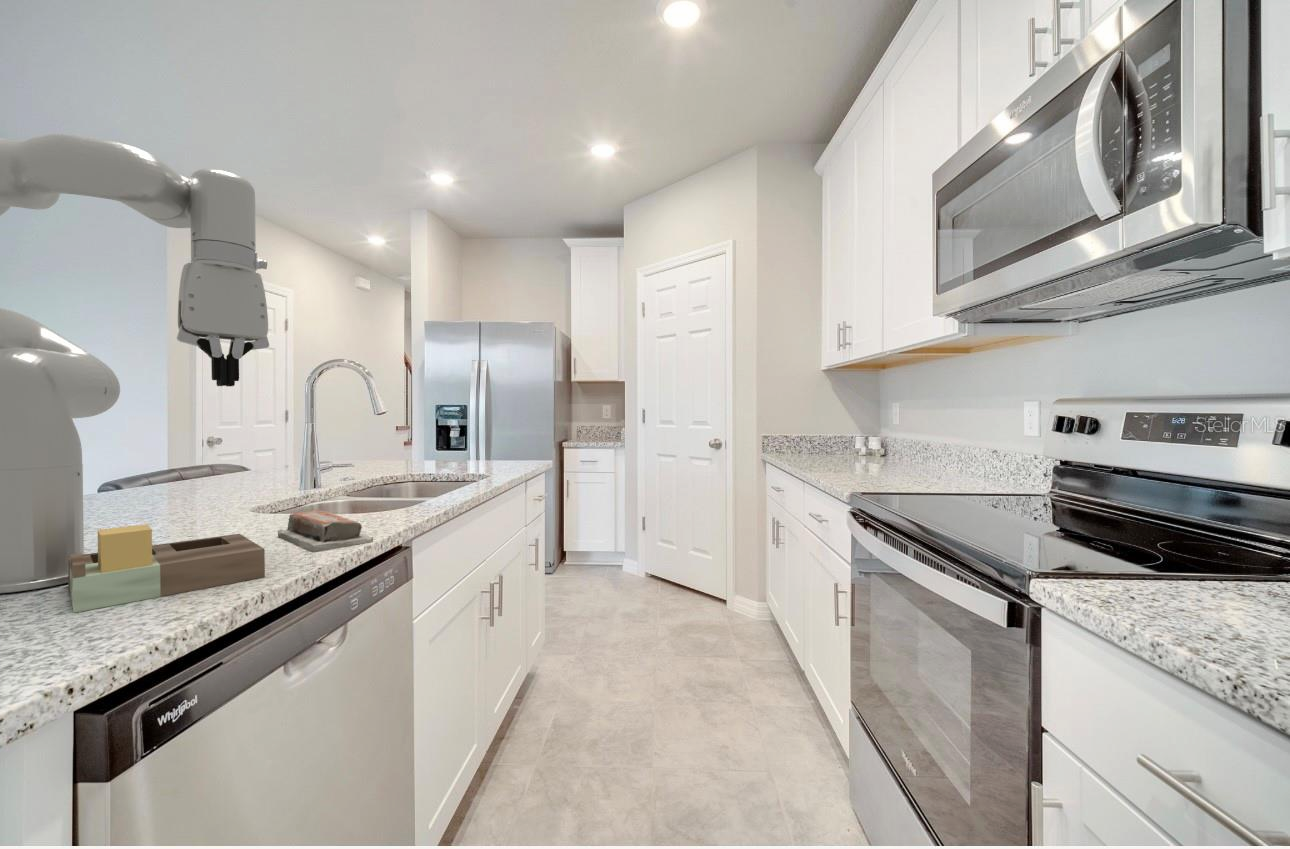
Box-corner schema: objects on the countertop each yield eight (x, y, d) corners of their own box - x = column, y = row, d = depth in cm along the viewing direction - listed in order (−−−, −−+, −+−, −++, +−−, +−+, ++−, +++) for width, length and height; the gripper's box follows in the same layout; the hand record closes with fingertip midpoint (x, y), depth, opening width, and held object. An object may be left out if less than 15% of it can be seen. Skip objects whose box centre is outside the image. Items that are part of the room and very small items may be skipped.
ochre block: (98, 565, 67) (97, 529, 67) (147, 558, 70) (146, 524, 70) (101, 572, 64) (100, 535, 64) (152, 565, 68) (151, 529, 67)
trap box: (68, 586, 71) (67, 545, 71) (239, 558, 85) (239, 524, 85) (73, 612, 62) (72, 565, 62) (264, 576, 76) (264, 538, 76)
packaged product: (275, 513, 101) (333, 506, 108) (275, 538, 101) (333, 530, 108) (312, 526, 89) (374, 517, 97) (312, 555, 89) (374, 544, 97)
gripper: (276, 275, 87) (277, 388, 88) (152, 254, 76) (153, 384, 76) (291, 266, 82) (292, 387, 83) (160, 243, 71) (161, 382, 71)
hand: (225, 385), depth 79 cm, fingers closed
